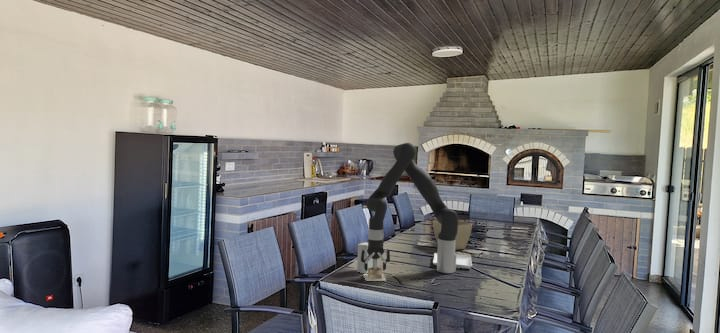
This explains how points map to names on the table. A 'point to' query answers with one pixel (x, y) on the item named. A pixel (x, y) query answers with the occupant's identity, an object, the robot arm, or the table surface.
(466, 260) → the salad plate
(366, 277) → the post
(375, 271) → the ring
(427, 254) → the table surface
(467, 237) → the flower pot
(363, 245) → the skincare box
